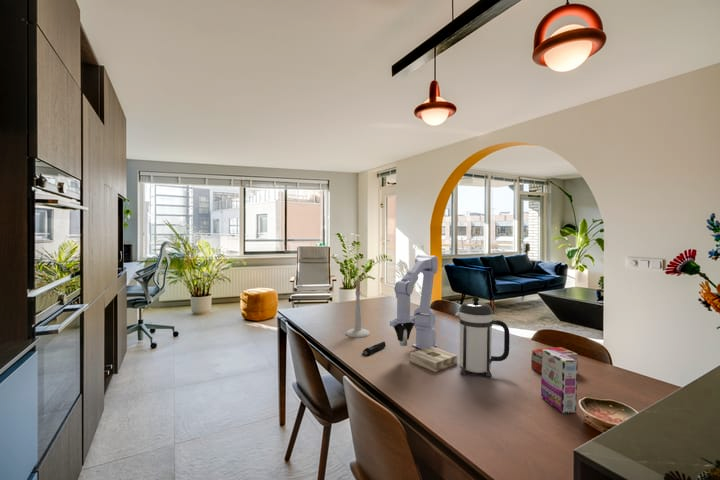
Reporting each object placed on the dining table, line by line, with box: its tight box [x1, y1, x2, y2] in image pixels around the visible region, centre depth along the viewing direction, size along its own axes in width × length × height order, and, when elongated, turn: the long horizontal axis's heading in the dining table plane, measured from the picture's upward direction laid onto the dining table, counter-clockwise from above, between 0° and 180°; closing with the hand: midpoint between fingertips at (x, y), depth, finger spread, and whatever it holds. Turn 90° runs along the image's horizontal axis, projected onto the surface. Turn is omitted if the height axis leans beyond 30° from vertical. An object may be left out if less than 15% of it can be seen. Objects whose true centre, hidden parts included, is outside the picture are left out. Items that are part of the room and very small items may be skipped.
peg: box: [399, 328, 408, 347], centre depth 149 cm, size 3×3×7 cm
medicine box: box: [530, 346, 578, 374], centre depth 138 cm, size 15×8×8 cm, turn 105°
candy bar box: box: [540, 348, 579, 414], centre depth 111 cm, size 11×5×16 cm, turn 5°
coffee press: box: [455, 296, 510, 379], centre depth 137 cm, size 17×16×30 cm
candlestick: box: [345, 278, 371, 339], centre depth 185 cm, size 13×13×30 cm
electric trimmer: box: [361, 341, 387, 357], centre depth 160 cm, size 4×16×3 cm, turn 141°
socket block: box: [409, 346, 458, 373], centre depth 146 cm, size 14×14×4 cm
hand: (403, 339), depth 149 cm, fingers closed on peg, 3 cm apart
